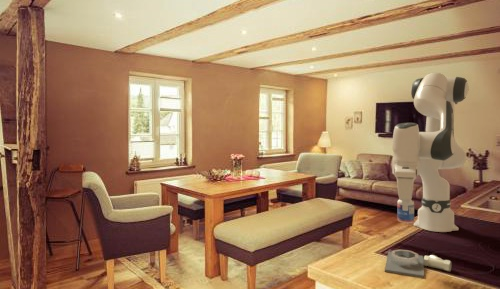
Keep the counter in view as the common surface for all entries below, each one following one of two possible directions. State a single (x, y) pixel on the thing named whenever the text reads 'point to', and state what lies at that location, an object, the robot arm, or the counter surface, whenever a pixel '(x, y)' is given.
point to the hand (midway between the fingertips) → (405, 208)
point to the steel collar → (404, 258)
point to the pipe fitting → (437, 263)
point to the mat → (412, 271)
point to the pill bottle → (405, 212)
